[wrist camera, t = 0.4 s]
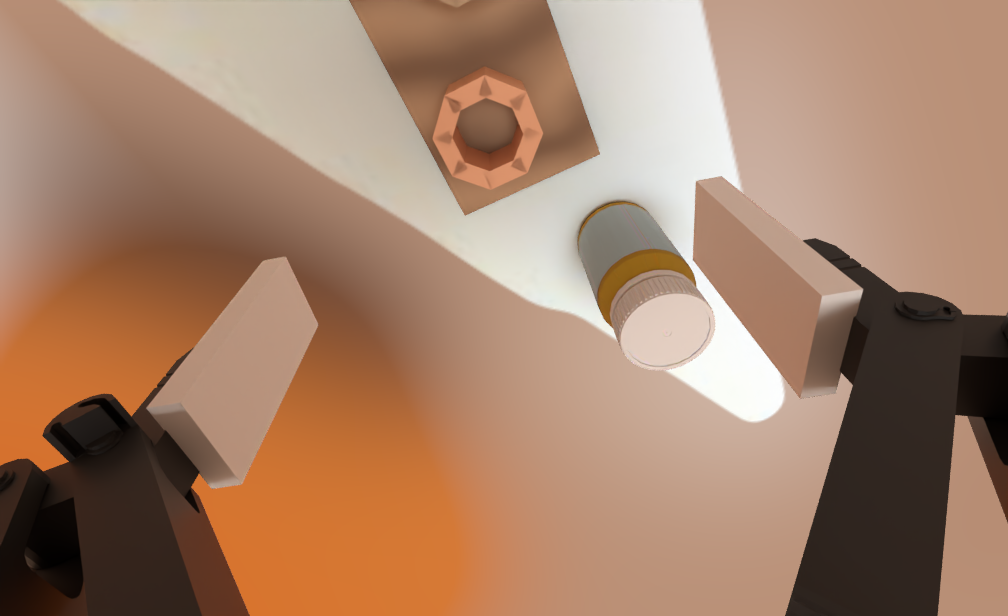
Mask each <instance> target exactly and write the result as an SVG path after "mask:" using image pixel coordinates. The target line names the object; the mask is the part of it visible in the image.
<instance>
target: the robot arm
mask: <svg viewBox="0 0 1008 616" xmlns="http://www.w3.org/2000/svg"><path fill="white" fill-rule="evenodd" d="M693 261H694V262H695V263H696V264H697V266H698V267H699V268H700V270H701V271H702V272H703V273H704V275H705V276H706V277H707V279H708V280H709V281H710V283H711V284H712V285H713V286H714V288H715V289H716V290H717V292H718V293H719V294H720V296H721V297H722V298H723V299H724V301H725V302H726V303H727V305H728V306H729V307H730V308H731V310H732V311H733V312H734V314H735V315H736V316H737V318H738V319H739V320H740V321H741V323H742V324H743V325H744V327H745V328H746V329H747V331H748V332H749V333H750V334H751V336H752V337H753V338H754V340H755V341H756V342H757V343H758V345H759V346H760V347H761V349H762V350H763V351H764V353H765V354H766V355H767V356H768V358H769V359H770V360H771V362H772V363H773V364H774V366H775V367H776V368H777V369H778V371H779V372H780V373H781V375H782V376H783V377H784V378H785V380H786V381H787V382H788V384H789V385H790V386H791V388H792V389H793V390H794V391H795V393H796V394H797V395H798V397H799V398H800V399H802V398H809V397H815V396H821V395H829V394H835V393H836V390H837V386H838V382H839V378H840V375H841V373H842V374H843V375H844V376H845V377H846V378H847V379H848V380H849V381H850V382H851V383H852V385H853V387H852V391H851V394H850V398H849V401H848V404H847V408H846V411H845V414H844V418H843V421H842V425H841V428H840V431H839V435H838V438H837V442H836V445H835V448H834V452H833V455H832V459H831V462H830V465H829V469H828V473H827V476H826V479H825V482H824V486H823V489H822V493H821V496H820V499H819V503H818V507H817V510H816V513H815V516H814V520H813V524H812V527H811V530H810V533H809V537H808V540H807V544H806V547H805V550H804V554H803V557H802V561H801V564H800V568H799V571H798V574H797V578H796V581H795V584H794V588H793V591H792V595H791V598H790V602H789V605H788V608H787V611H786V615H785V616H937V615H938V604H939V592H940V581H941V570H942V559H943V547H944V536H945V525H946V514H947V503H948V492H949V480H950V469H951V457H952V447H953V436H954V423H955V415H962V416H968V419H969V421H970V424H971V427H972V429H973V432H974V435H975V437H976V440H977V442H978V445H979V448H980V450H981V453H982V456H983V458H984V461H985V464H986V466H987V469H988V472H989V474H990V477H991V479H992V482H993V485H994V487H995V490H996V493H997V495H998V498H999V501H1000V503H1001V506H1002V509H1003V511H1004V514H1005V517H1006V519H1007V522H1008V313H1007V315H1006V316H995V315H963V314H962V312H961V310H960V309H958V308H957V307H956V306H955V305H953V304H952V303H950V302H948V301H946V300H944V299H942V298H939V297H936V296H932V295H928V294H924V293H915V292H898V291H896V290H895V289H893V288H892V287H891V286H889V285H888V284H887V283H885V282H884V281H883V280H881V279H880V278H879V277H877V276H876V275H875V274H873V273H872V272H871V271H869V270H868V269H866V268H865V267H861V264H859V263H858V262H857V261H856V260H854V259H850V256H849V255H847V254H846V253H844V252H843V251H842V250H841V249H839V248H838V247H837V246H835V245H832V244H829V243H826V242H824V241H821V240H818V239H816V238H815V239H808V240H803V241H802V240H801V239H800V238H798V237H797V236H796V235H795V234H793V233H792V232H791V231H789V230H788V229H787V228H786V227H784V226H783V225H782V224H781V223H779V222H778V221H777V220H776V219H774V218H773V217H772V216H771V215H769V214H768V213H767V212H766V211H764V210H763V209H762V208H761V207H759V206H758V205H757V204H756V203H754V202H753V201H751V200H750V199H749V198H748V197H747V196H745V195H744V194H743V193H742V192H740V191H739V190H738V189H737V188H735V187H734V186H733V185H732V184H730V183H729V182H728V181H727V180H725V179H724V178H723V177H722V176H721V177H715V178H710V179H704V180H699V181H696V194H695V219H694V245H693ZM317 327H318V323H317V321H316V319H315V317H314V315H313V312H312V310H311V308H310V306H309V304H308V302H307V300H306V298H305V296H304V294H303V292H302V289H301V287H300V285H299V284H298V281H297V279H296V277H295V275H294V273H293V271H292V269H291V267H290V264H289V262H288V261H287V258H286V257H280V258H275V259H269V260H264V261H263V262H262V263H261V264H260V265H259V267H258V268H257V269H256V270H255V272H254V273H253V274H252V275H251V277H250V278H249V279H248V281H247V282H246V283H245V284H244V285H243V287H242V288H241V289H240V291H239V292H238V293H237V294H236V296H235V297H234V298H233V299H232V301H231V302H230V303H229V305H228V306H227V307H226V308H225V309H224V311H223V312H222V313H221V314H220V316H219V317H218V318H217V319H216V321H215V322H214V323H213V325H212V326H211V327H210V328H209V330H208V331H207V332H206V334H205V335H204V336H203V337H202V338H201V340H200V341H199V342H198V343H197V345H196V346H195V347H194V348H192V349H191V350H190V351H189V352H187V353H186V354H185V355H184V356H182V357H181V358H180V359H178V360H177V361H176V363H175V364H174V365H173V366H172V367H171V369H170V370H169V371H168V373H167V374H166V377H163V379H162V380H161V381H160V382H159V383H158V385H157V388H155V389H154V390H153V391H152V392H151V393H150V395H149V396H148V397H147V398H146V400H145V401H144V402H143V403H142V404H141V406H140V407H139V408H138V409H137V411H136V412H135V413H134V414H133V416H132V417H131V416H130V415H129V413H128V412H127V411H126V410H125V409H124V408H123V406H122V405H121V404H120V403H119V402H118V400H117V399H116V398H115V397H114V396H113V395H112V394H100V395H96V396H92V397H89V398H87V399H84V400H82V401H80V402H78V403H76V404H74V405H72V406H71V407H69V408H67V409H65V410H64V411H63V412H61V413H60V414H59V415H57V416H56V417H55V418H54V419H53V420H52V421H51V422H50V423H49V424H48V425H47V426H46V428H45V430H44V433H43V437H44V438H45V439H46V440H47V441H48V442H49V443H51V445H52V446H54V447H55V448H56V449H57V450H58V451H59V452H60V453H61V454H62V455H63V456H64V457H65V458H66V459H67V460H68V461H69V462H67V463H65V464H62V465H59V466H57V467H54V468H51V469H49V470H46V471H42V470H41V469H40V468H39V467H37V466H36V465H35V464H34V463H33V462H32V461H30V460H29V459H17V460H14V461H11V462H8V463H5V464H3V465H1V466H0V616H250V615H249V614H248V611H247V609H246V606H245V604H244V601H243V599H242V597H241V594H240V592H239V590H238V587H237V585H236V582H235V580H234V578H233V575H232V573H231V571H230V568H229V566H228V564H227V561H226V559H225V557H224V554H223V552H222V550H221V547H220V545H219V543H218V540H217V538H216V536H215V533H214V531H213V528H212V526H211V524H210V521H209V519H208V517H207V514H206V512H205V509H204V507H203V505H202V502H201V500H200V498H199V496H198V495H197V493H196V492H195V491H194V490H193V489H192V488H191V486H192V484H193V483H194V481H195V479H196V477H197V476H198V474H200V475H201V476H202V477H203V478H204V480H205V481H206V482H207V484H208V485H209V486H210V487H211V488H212V489H215V488H221V487H227V486H234V485H241V484H242V483H243V481H244V479H245V477H246V475H247V473H248V471H249V469H250V466H251V464H252V462H253V460H254V458H255V456H256V454H257V452H258V450H259V448H260V446H261V443H262V441H263V439H264V437H265V435H266V433H267V431H268V429H269V427H270V425H271V423H272V420H273V418H274V416H275V414H276V412H277V410H278V408H279V406H280V404H281V402H282V400H283V398H284V396H285V393H286V391H287V389H288V387H289V385H290V383H291V381H292V379H293V377H294V375H295V373H296V370H297V368H298V366H299V364H300V362H301V360H302V358H303V356H304V354H305V352H306V350H307V348H308V346H309V343H310V341H311V339H312V337H313V335H314V333H315V331H316V329H317Z"/></svg>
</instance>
